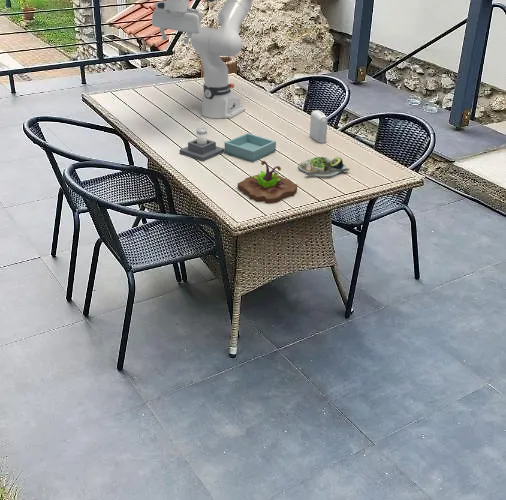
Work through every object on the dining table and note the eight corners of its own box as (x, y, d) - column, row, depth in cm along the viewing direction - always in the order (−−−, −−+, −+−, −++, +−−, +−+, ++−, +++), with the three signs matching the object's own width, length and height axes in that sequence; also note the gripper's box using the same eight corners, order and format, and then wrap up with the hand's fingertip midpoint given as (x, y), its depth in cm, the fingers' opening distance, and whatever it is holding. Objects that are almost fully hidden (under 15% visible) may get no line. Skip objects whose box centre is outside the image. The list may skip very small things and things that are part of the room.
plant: (268, 175, 251) (269, 148, 246) (305, 192, 239) (307, 163, 233) (228, 189, 240) (229, 160, 234) (265, 207, 227) (266, 178, 222)
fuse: (201, 150, 271) (201, 127, 266) (208, 152, 269) (208, 129, 264) (195, 152, 268) (194, 129, 263) (202, 155, 266) (202, 131, 261)
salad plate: (321, 185, 245) (322, 173, 242) (287, 170, 256) (287, 159, 253) (354, 171, 256) (355, 160, 254) (320, 158, 267) (321, 147, 265)
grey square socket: (201, 144, 277) (200, 134, 274) (224, 152, 270) (224, 141, 268) (179, 153, 268) (179, 142, 266) (203, 161, 261) (203, 150, 259)
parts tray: (247, 143, 279) (247, 132, 277) (275, 151, 272) (276, 141, 269) (224, 152, 269) (224, 142, 267) (253, 162, 261) (253, 151, 259)
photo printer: (308, 135, 289) (310, 108, 283) (317, 134, 290) (319, 107, 284) (318, 143, 281) (320, 116, 274) (327, 142, 282) (329, 115, 276)
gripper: (204, 9, 264) (201, 44, 270) (157, 1, 267) (155, 36, 273) (199, 11, 258) (196, 46, 264) (151, 2, 262) (149, 38, 268)
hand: (175, 41), depth 269 cm, fingers open, 8 cm apart
